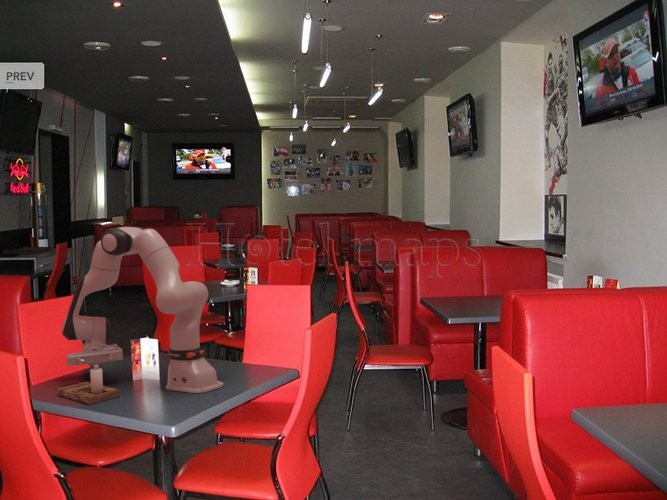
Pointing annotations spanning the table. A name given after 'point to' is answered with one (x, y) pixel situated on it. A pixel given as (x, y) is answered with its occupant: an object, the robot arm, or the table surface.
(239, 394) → the table surface
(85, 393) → the board
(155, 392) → the table surface
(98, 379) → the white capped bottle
